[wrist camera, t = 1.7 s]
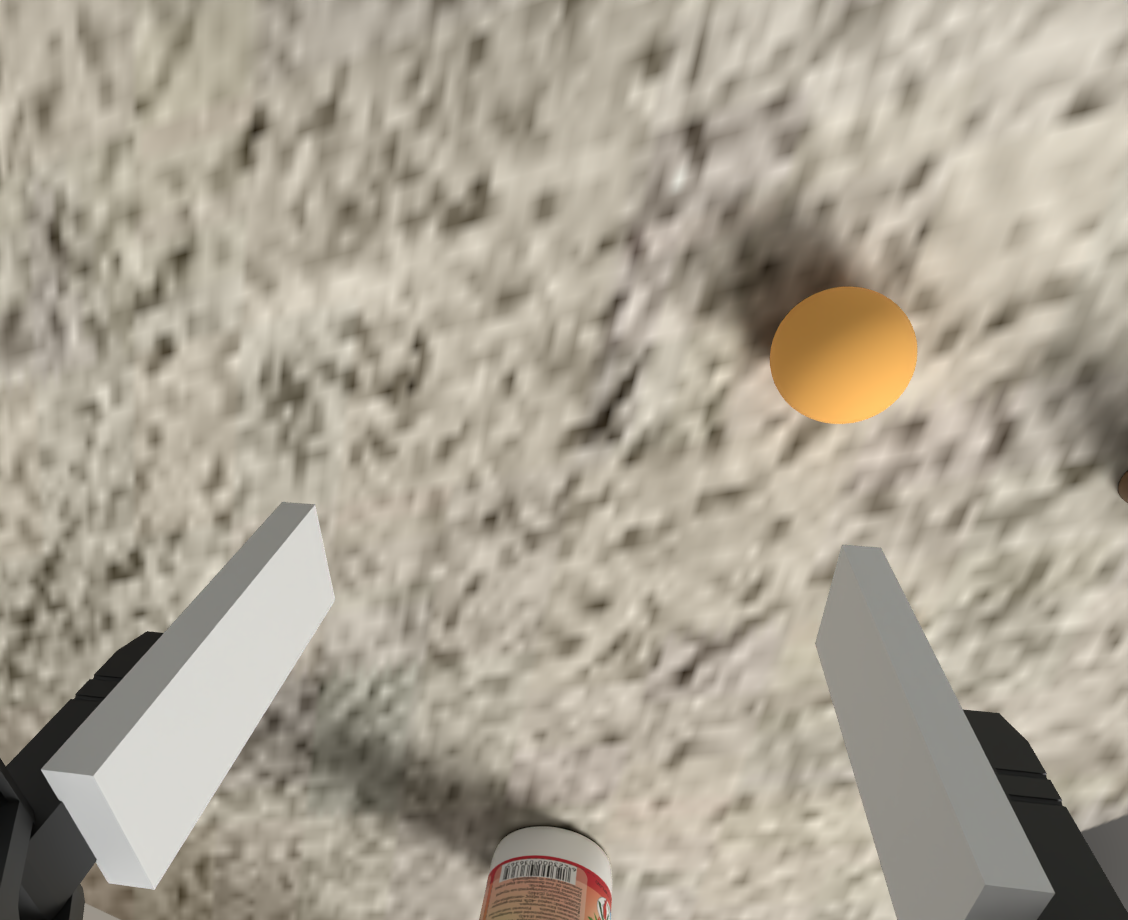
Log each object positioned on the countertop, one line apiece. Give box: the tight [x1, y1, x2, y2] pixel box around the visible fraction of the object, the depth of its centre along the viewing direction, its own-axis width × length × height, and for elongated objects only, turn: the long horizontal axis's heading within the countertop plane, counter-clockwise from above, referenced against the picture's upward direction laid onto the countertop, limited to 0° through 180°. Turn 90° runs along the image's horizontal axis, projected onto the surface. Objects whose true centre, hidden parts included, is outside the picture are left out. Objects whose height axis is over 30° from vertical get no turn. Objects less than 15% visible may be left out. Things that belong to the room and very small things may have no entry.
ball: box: [770, 286, 917, 424], centre depth 27 cm, size 6×6×6 cm
